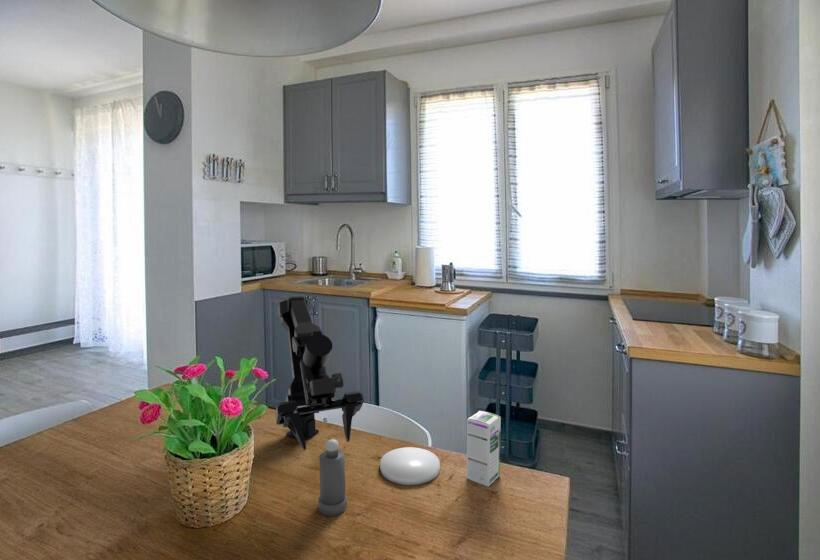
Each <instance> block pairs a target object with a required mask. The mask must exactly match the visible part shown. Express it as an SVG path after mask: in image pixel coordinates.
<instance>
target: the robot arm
mask: <svg viewBox="0 0 820 560" xmlns="http://www.w3.org/2000/svg"><path fill="white" fill-rule="evenodd" d="M310 312H311V311H310V302H309V299H307V297H306V296H304V295H302V296H300V295H299V296H289V297H287V299H285V300H282V301H280V302H278V305H277V318H280V325H281V326H282V327H283V328H284V329H285V331H286V332H287V338H288V346H289V349H288V350H289V356H290V365H291V373H292V381H291V383H290V385H289V388H288V390H287V391H288V392H287V395H286V397H285V401H281V402H278V403H277V405H276V410H275V423H276V425H279V426H280V425H282V427H283V428H288V431H287V432H286V434H285V435H286V436H287V437H291V438H293V439H296V440H297V442H298V443H299V445H300V447H301V448H302V450H303V451H306V450H307V445H306V440H307V439H308V438H311V437H312V436H314V435H316V434H318V433H319V432H320V430H319V429H316V417H315V415H316V414H320V412H324V411H325V412H326V411H330V410H338V409H341V411H342V416H341V418H342V424H343V429H344V436H345V440H346V443H349V442H350V440H351V430H352V421H353V417H354V416H356V414H357V412H360V411H361V409H362V406H363V404H364V403H365V398H364V395H363V393H362V392H361V391H359V390H356V391H351V392H345V393H344V394H343V396H342V398H341V399H335V400H333V398H335V394H336V393H337V390H336V389H342V388H344V378H343V374H342V372H337V373H333V374H331V377H329V374H328V371H327V365H328V363H329V360H330V356H331V353H332V350H333V342H332V340H331V339H330V338H329V337H328V336H326V335H325V334H324V333H323V331H322V328H321V327H320V326H319V325H316V324H315V323H313V320H312V317H311V314H310ZM289 430H290V431H289Z"/></svg>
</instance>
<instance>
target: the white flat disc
mask: <svg viewBox="0 0 820 560" xmlns="http://www.w3.org/2000/svg"><path fill="white" fill-rule="evenodd" d="M440 464H441V463H440V459H439V457H438V456H437V455H436V454H435V453H433V452H432V451H430V450H427V449H424V448H421V447H412V446H411V447H410V446H408V447H406V446H405V447H400V448H399V447H398V448H395V449H392V450H389V451H388V452H387V453H385V454H383V456H382V457H381V459H380V466H379V467H380V472H381V474H382V476H383V477H384V478H385V479H387V480H388V481H389V482H392V483H395V484H399V485H405V486H406V485H407V486H414V485H415V486H416V485H417V486H418V485H422V484H426V483H429V482H431V481H433V480H434V479H435V478H436V477H437V476H439V473H440V467H441V465H440Z"/></svg>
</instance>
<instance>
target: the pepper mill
mask: <svg viewBox="0 0 820 560" xmlns="http://www.w3.org/2000/svg"><path fill="white" fill-rule="evenodd" d="M339 447H340V445H339V442H338V440H337V439H335V438H332V439H329V440H327V442H326V443H325V449H326V450H325V451H322V452H321V453H320V454H319V496H318V511H319V513H321V514H322V515H324V516H327V517H334V516H338V515H341V514H342V513H344V512H345V511H346V510H347V508H348V499H347V498H348V497H347V493H346V457H345V456H346V454H345V452H344V451H343V450H340V449H339Z"/></svg>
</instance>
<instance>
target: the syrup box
mask: <svg viewBox="0 0 820 560" xmlns="http://www.w3.org/2000/svg"><path fill="white" fill-rule="evenodd" d="M501 420H502V417H501V416H500V415H498V414H496V413H492V412H489V411H483V410H478V411H477V412H476V413H474V414H473V415H471V416H470V417H468V418H467V419H466V479H467V480H470V481H472V482H475V483H477V484H480V485H481V486H485V487H490V485H491V484H493V482H495V481H496V480H497V479H498V478H499V477H500V476H501V434H502V433H501V422H502V421H501Z"/></svg>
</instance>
